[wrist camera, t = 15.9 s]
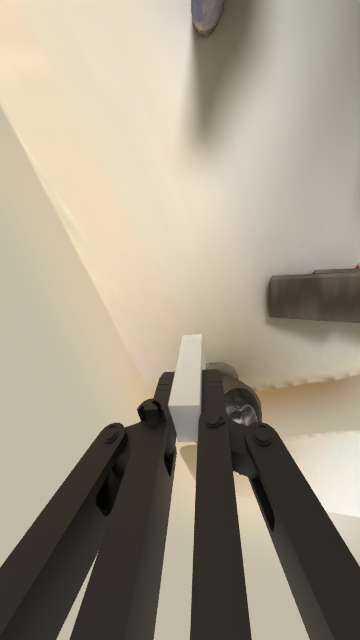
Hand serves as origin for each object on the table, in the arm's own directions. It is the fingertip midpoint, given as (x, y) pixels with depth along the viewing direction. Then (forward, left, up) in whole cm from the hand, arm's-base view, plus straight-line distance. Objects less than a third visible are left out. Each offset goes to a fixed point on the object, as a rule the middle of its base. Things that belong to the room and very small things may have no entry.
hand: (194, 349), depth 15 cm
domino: (+1, +9, -12) cm, 15 cm away
